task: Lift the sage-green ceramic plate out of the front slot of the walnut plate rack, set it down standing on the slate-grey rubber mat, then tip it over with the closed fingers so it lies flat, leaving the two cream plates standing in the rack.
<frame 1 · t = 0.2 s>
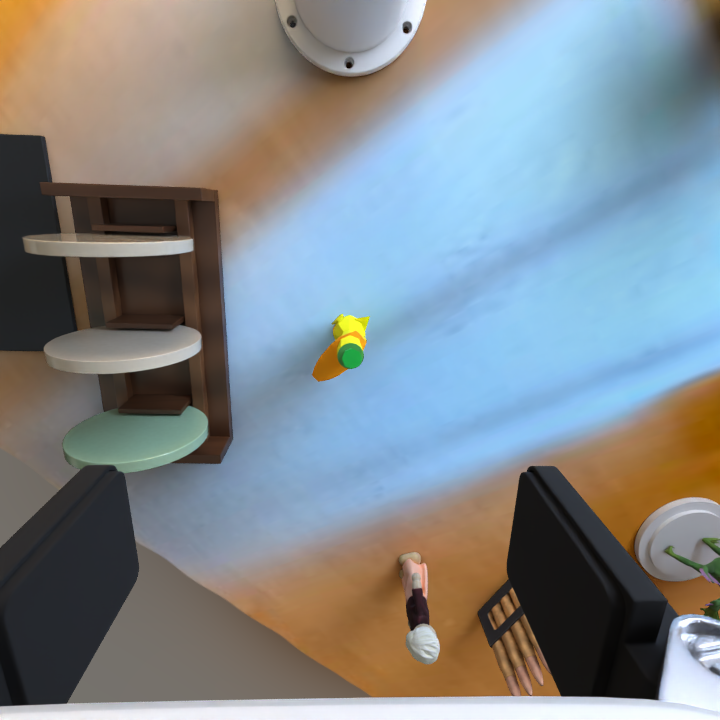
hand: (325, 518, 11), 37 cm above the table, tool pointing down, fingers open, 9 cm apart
ammunition clip: (507, 587, 59), on the table
green plate: (140, 433, 42), point 7 cm above the table, touching plate rack
monster figurine: (681, 537, 57), on the table
plate rack: (161, 324, 46), on the table
grandmother figurine: (410, 562, 57), on the table
cream plate 2: (114, 243, 36), point 7 cm above the table, touching plate rack
cream plate 1: (128, 344, 39), point 7 cm above the table, touching plate rack
toy figure: (343, 328, 47), on the table
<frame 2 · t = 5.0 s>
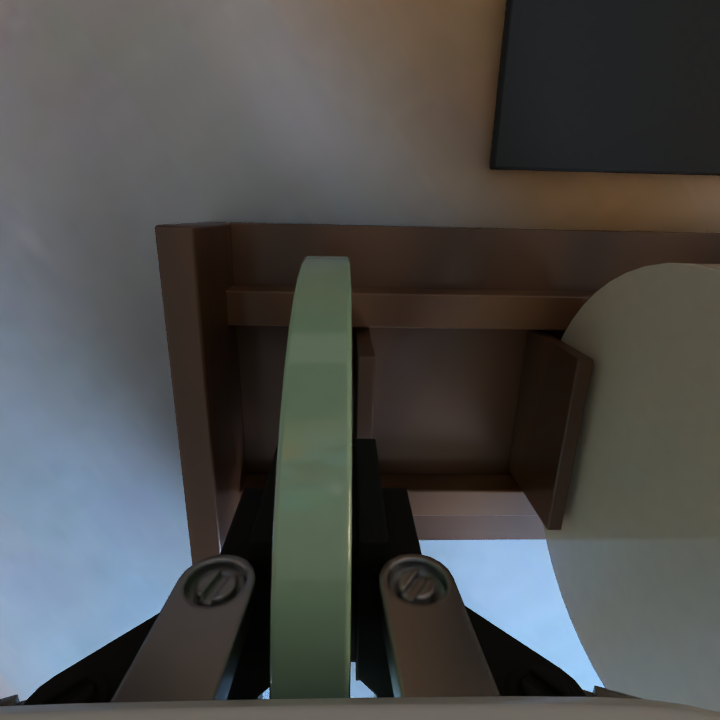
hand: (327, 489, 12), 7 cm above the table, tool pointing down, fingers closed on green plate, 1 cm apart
green plate: (327, 497, 11), point 7 cm above the table, touching gripper, plate rack
plate rack: (537, 391, 19), on the table
cream plate 1: (653, 497, 12), point 7 cm above the table, touching plate rack
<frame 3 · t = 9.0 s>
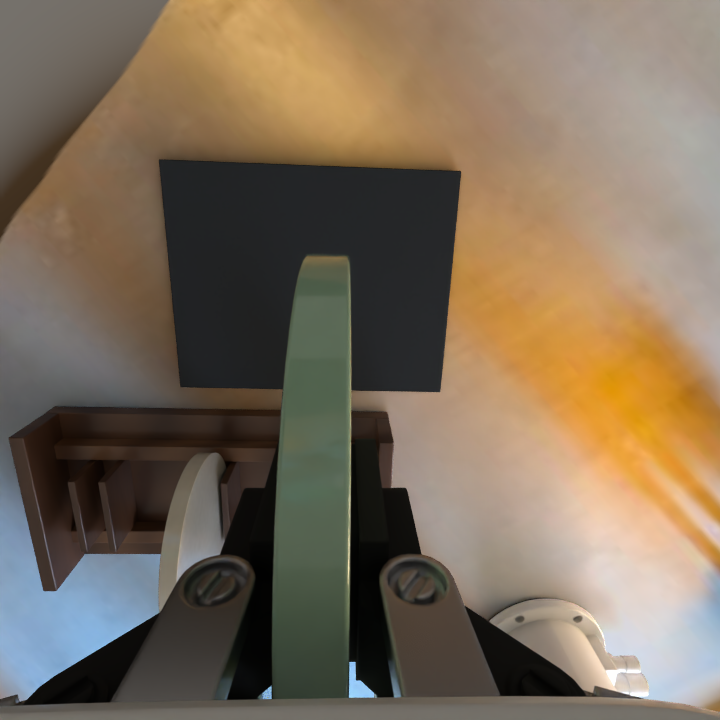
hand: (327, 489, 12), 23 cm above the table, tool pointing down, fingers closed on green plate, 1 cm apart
green plate: (327, 491, 12), point 23 cm above the table, touching gripper
plate rack: (228, 480, 38), on the table
cream plate 1: (201, 542, 31), point 7 cm above the table, touching plate rack
mat: (312, 284, 33), on the table
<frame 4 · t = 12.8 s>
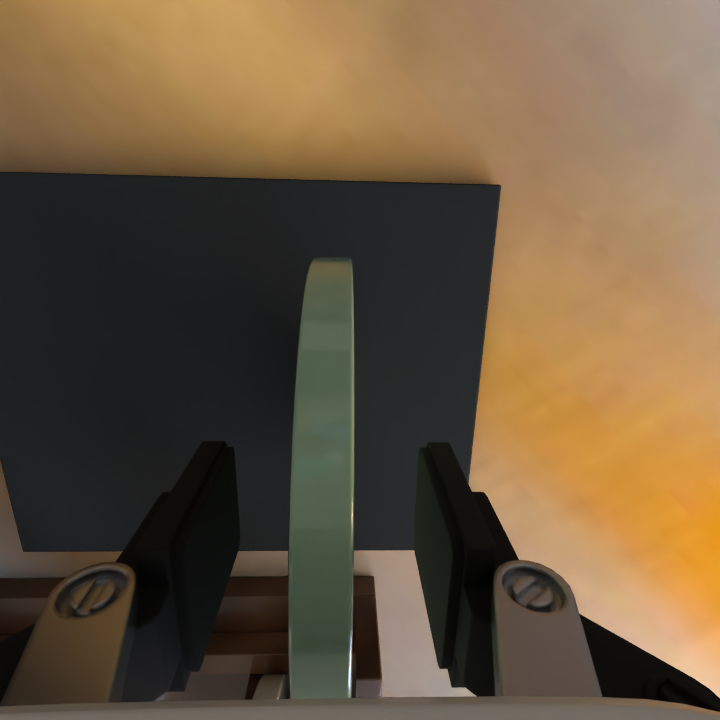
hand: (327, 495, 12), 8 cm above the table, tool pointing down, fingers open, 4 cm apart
green plate: (331, 473, 13), point 7 cm above the table, touching mat
plate rack: (122, 677, 24), on the table
mat: (238, 384, 19), on the table
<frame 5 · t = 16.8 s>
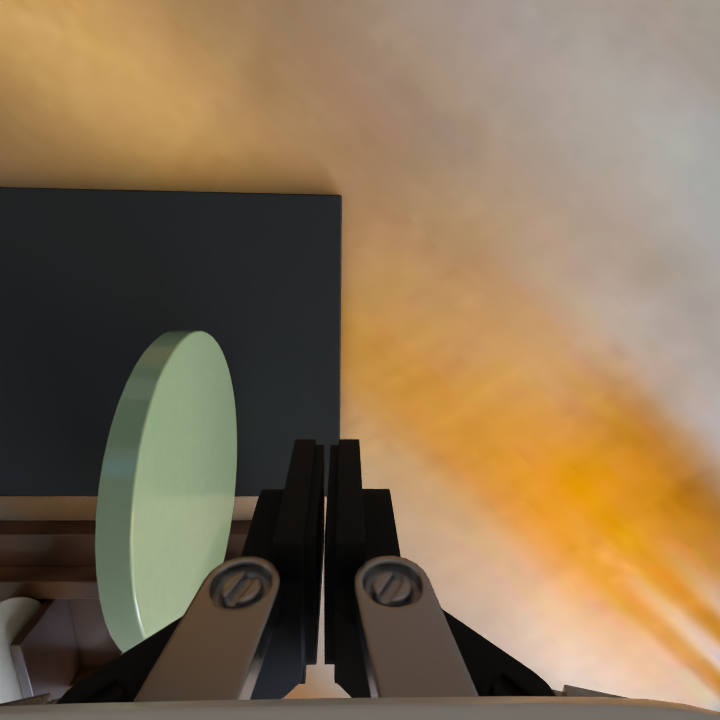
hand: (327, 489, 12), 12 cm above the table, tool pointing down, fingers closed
green plate: (189, 480, 18), point 7 cm above the table, tilted 29°, touching mat
plate rack: (63, 609, 28), on the table
mat: (146, 355, 23), on the table
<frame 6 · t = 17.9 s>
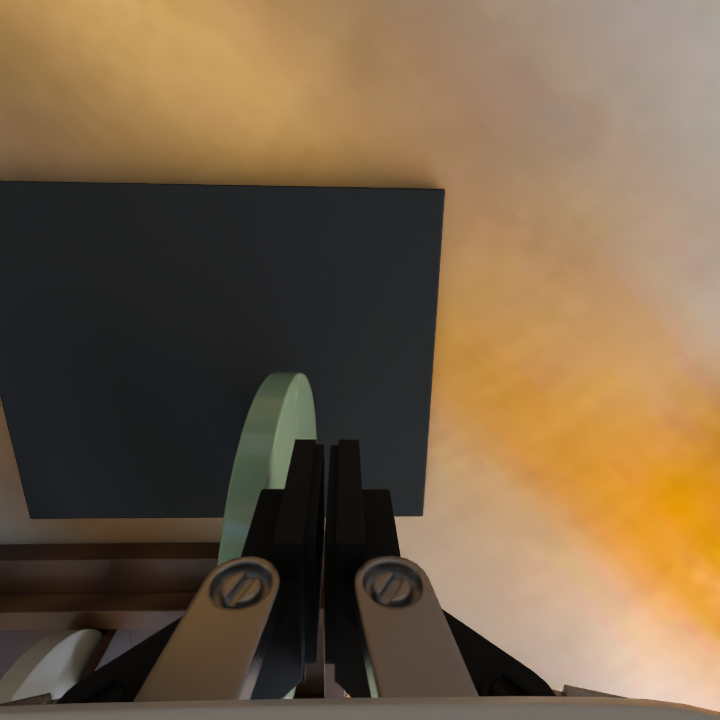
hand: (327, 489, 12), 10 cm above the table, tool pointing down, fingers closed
green plate: (283, 536, 16), point 7 cm above the table, tilted 40°, touching gripper, mat
plate rack: (120, 636, 26), on the table
mat: (220, 366, 21), on the table
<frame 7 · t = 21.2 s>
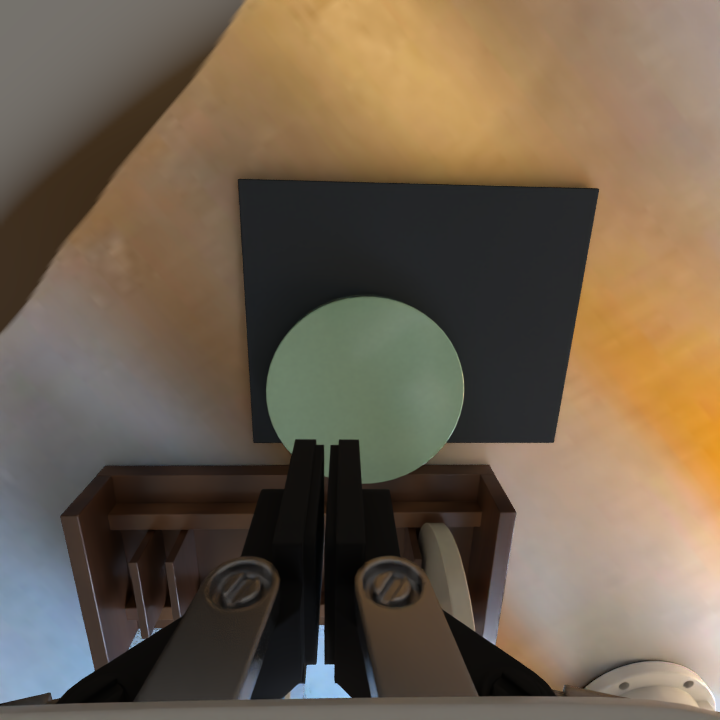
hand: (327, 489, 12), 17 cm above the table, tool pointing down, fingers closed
green plate: (365, 393, 28), point 1 cm above the table, tilted 88°, touching mat, plate rack
plate rack: (302, 543, 33), on the table
cream plate 2: (440, 632, 26), point 7 cm above the table, touching plate rack
mat: (411, 323, 28), on the table
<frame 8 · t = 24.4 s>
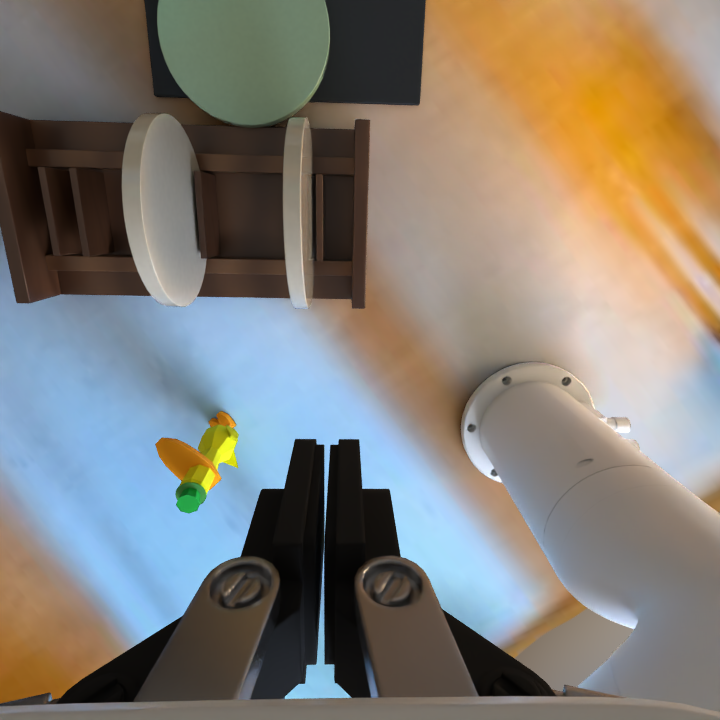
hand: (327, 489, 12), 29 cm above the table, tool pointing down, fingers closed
green plate: (245, 33, 32), point 1 cm above the table, tilted 88°, touching mat, plate rack
plate rack: (206, 215, 37), on the table
cream plate 2: (301, 218, 30), point 7 cm above the table, touching plate rack
cream plate 1: (173, 215, 30), point 7 cm above the table, touching plate rack
toy figure: (222, 420, 43), on the table
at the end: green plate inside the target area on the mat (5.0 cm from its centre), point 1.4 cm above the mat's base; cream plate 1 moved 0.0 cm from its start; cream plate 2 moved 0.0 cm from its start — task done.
